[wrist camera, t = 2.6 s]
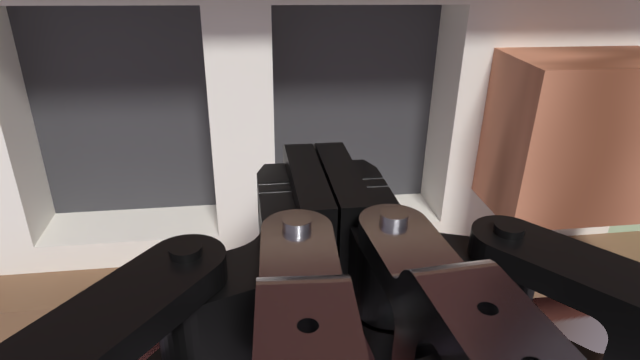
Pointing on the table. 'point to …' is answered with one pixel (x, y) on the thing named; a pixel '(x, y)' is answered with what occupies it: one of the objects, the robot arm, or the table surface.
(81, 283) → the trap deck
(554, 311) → the table surface
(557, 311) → the table surface
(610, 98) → the block
